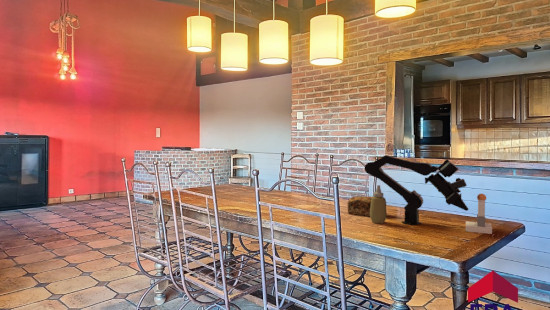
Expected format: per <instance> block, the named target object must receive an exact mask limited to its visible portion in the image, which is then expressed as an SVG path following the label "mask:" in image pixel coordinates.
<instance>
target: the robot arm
mask: <svg viewBox="0 0 550 310" xmlns="http://www.w3.org/2000/svg"><path fill="white" fill-rule="evenodd" d="M387 164H388V165H392V166H395V167H399V168H403V169H408V170H411V171H413V172H415V173H417V174H419V175H421V176H427V177H424V184H425V185H426V184H428V183H430V184H431V185H433V187H435V188H436V190H437V191H438V193H440V194H441V195H442V196H443V197H444V199H445V203H447V206H450V205H452V206H454V207H457V208H459V209H461V210H463V211H469V207H468V206H467V205H466V203H465V201H464V200H463V198H462V193H461V190H460V189H461V188H465V187H467V182H466V181H465V179H464V178H460V177H458V178H455V181H453V182H451V181H448V180H447V179H446V178H450V177H452V176H453V175H454V174H455V173H457V172H458V171H459V169H460V168H458V166H456V165H455V164H454V163H453V162H451V161H450V160H449V159H448V158H447V159H446V158H445V160H444V161H443V162H442V163H441V164H440V165H438V166H435V165H432V164H430V163H428V162H424V161H423V162H421V161H420V162H419V161H411V160H407V159H403V158H399V157H394V156H391V155H389V154H386V155H382V157H379V158H378V159H377V160H375V161H371V162H367V163H366V164H365V165H364V172H365V173H366V174H368V175H370V176H371V177H374V178H377V179H378V180H380V181H381V182H382V183H384V184H385V185H386V186H388V187H389V188H390V189H392V190H393V191H394V192H396V193H397V194H398V195H399V196H400V197H402V198H403V199H404V200H405V202H406V205H405V206H404V221H403V220H402V221H401V223H402V224H407V225H409V226H415V225H421V224H422V222H420V221H419V220H420V219H419V218H420V214H419V212H420V211H419V210H420V208H422V207H423V204H424V199H423V197H422V194H420V193H419V192H417V191H416V190H415V189H413V190H411V191H410V190H409V189H407V188H405V187H404V186H403V185H402V184H401V183H399V181H397V180H395V179H394V178H393V177H391V176H390V175H389V174H387V173H386V172H385V170H383V169H382V167H383V166H384V167H385V165H387ZM434 173H435V174H434Z"/></svg>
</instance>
